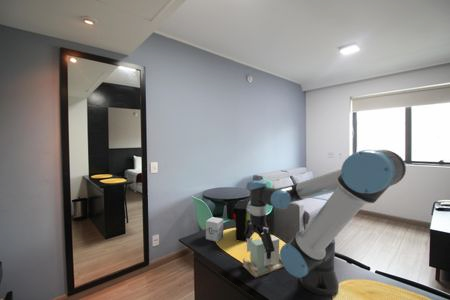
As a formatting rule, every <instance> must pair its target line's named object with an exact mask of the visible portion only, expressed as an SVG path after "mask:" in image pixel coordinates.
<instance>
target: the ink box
mask: <svg viewBox="0 0 450 300" xmlns="http://www.w3.org/2000/svg"><path fill="white" fill-rule="evenodd" d="M223 237H224V218H221V217H214V216H211V217H210V218H208V219H207V220H205V240H208V241H213V242H216V243H217V242H219V241H220V240H221V239H222V238H223Z"/></svg>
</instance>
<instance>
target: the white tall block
mask: <svg viewBox="0 0 450 300" xmlns="http://www.w3.org/2000/svg"><path fill="white" fill-rule="evenodd" d="M270 235H271V234H270ZM271 239H272V242H273V246H274V249H275V251H273V252H271V258H270V262H271V263H273V265H275V264H277V263H279V254H280V238H279V237H276V236H275V235H274V234H273V235H271ZM265 251H266V250H265Z"/></svg>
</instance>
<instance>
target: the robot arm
mask: <svg viewBox="0 0 450 300" xmlns="http://www.w3.org/2000/svg"><path fill="white" fill-rule="evenodd" d="M406 170H407V166H406V163H405V161H404V159H403V158H402V157H401V156H400V155H399V154H397V153H396V152H393V151H392V150H388V149H363V150H359V151H357V152H354V153H352V154H351V155H349V156H348V157H347V158H346V159H345V160H344V161H343V163H342V165H341V169H338V170H334V171H332V172H329V173H325V174H322V175H319V176H317V177H316V176H315V177H313V178H310V179H307V180H303V181H300V182H298V183H295V184H292V185H287V186H283V187H277V188H272V187H268V185H267V182H266V181H264V180H252V181H251V182H250V185H249V186H250V189H249V192H250V193H249V194H250V196H249V197H250V198H249V199H250V201H249V204H250V206H249V207H250V213H251V214H250V219H249V220H248V222H247V226H246V229H245V232H244V235H245V236H246V238H247V241H246V252H247V253H249V252H250V241H253V237H252V236H253V235H254V234H257V235H258V236H259V238H260V240H261V241H262V242H263V245H264V247H265V250H266V251H265V253H264V265H265V266H267V265H270V258H271V252H273V251H275V249H274V246H273V242H272V239H271V230H270V229H271V228H270V227H266V226H265V225H266V222H267V205H268V206H271V207H273V208H275V209H276V208H277V209H282V210H285V209H288V207H289V206H290V204H291V203H294V202H295V203H296V202H299V201H302V200H307V199H310V198H311V199H312V198H315V197H318V196H323V195H328V194H331V193H332V194H331V196H330V197H329V198H328V199H327V201H326V202H325V203H324V204H323V206H322V207H321V208H320V210H318V212H317V213H316V215H315V216H314V217H313V219H312V220H311V221H310V223H309V224H308V225H307V226H306V228H304V230H299V231H297V232H296V234H295V235H294V236H293V237H292V239H291V240H290V241H289V242H288V243H285V244H283V245H282V247H281V248H280V249H279V254H280V257H281V261H282V263H283V265H284V267H283V268H285V270H286V271H287V272H288V273H289V274H290V275H292V276H293V277H295V278H299V282H300V283H301V285H302V287H303V288H305V289H306V290H307V291H309V292H311V293H313V294H315V295H319V296H323V297H324V296H325V297H329V296H334V295H333V294H335V293H336V294H337V293H338V292H339V290H338V289H339V288H340V287H339V285H340V283H339V280H338V277H337V275H336V270H335V256H336V255H335V253H336V251H335V250H336V240H335V238H336V237H337V236H338V235H339V234H340V233H341V232H342V230H344V228H345V227H346V226H347V225H348V224H349V223H350V221H351V220H352V219H353V218H354V217H355V216H356V215H357V214H358V212H359V211H360V210H361V209H362V208H363V207H364V206H365V205H366V204H375V203H376V202H377V201H378V199H379V198H380V197H382V195H383V194H384V193H385V192H386V191H387V190H388V189H389V188H390V187H392V186H394V185H396V184H398V183H399V182H400V181H402V179H403V178H404V177H405V175H406V172H407V171H406ZM336 294H335V295H336Z"/></svg>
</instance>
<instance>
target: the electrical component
mask: <svg viewBox="0 0 450 300" xmlns="http://www.w3.org/2000/svg"><path fill="white" fill-rule="evenodd" d="M233 209H234V210H233V214H232V218H233V221H234V222H235V241H237V240H239V241H240V242H247V238H246V236H245V235H244V232H245V229H246V226H247V222H248V220H249V219H250V214H251V213H250V201H249V200H237V202H236V204H235V206H234V207H233ZM239 241H238V242H239Z"/></svg>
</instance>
